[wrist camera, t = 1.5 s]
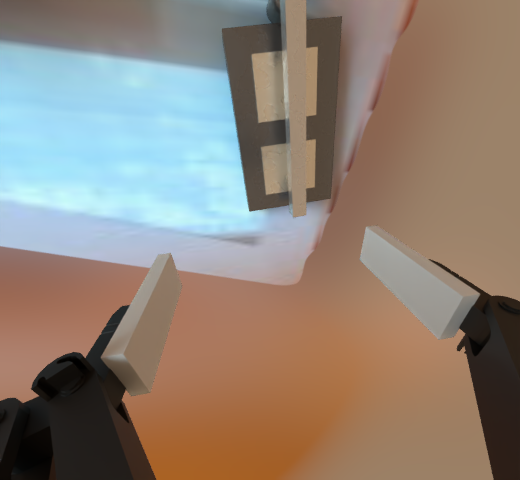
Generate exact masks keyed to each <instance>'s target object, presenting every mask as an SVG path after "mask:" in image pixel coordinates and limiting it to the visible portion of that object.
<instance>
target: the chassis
mask: <svg viewBox="0 0 520 480" xmlns="http://www.w3.org/2000/svg"><path fill="white" fill-rule="evenodd" d="M267 16H268V18H269V20H270V21H271V22H272V24H263V25H253V26H243V27H234V28H224V29H222V39H223V46H224V52H225V59H226V65H227V72H228V78H229V85H230V91H231V98H232V104H233V111H234V117H235V124H236V130H237V137H238V143H239V150H240V157H241V163H242V170H243V176H244V183H245V189H246V196H247V202H248V207H249V211H255V210H262V209H268V208H274V207H280V206H286V205H289V191H288V169H287V147H286V125H285V102H284V80H283V58H282V36H281V14H280V1H279V0H269V1H268V4H267ZM341 23H342V16H340V17H330V18H321V19H311V20H306V202H311V201H317V200H324V199H330V198H331V183H332V167H333V151H334V135H335V119H336V103H337V87H338V71H339V55H340V39H341Z"/></svg>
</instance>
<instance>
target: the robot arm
mask: <svg viewBox="0 0 520 480" xmlns="http://www.w3.org/2000/svg"><path fill="white" fill-rule="evenodd" d="M360 260H361V262H362V263H363V264H365V266H366V267H367V268H369V270H370V271H371V272H372V273H373V274H374V275H375V276H376V277H377V278H378V279H379V280H380V281H382V283H383V284H384V285H385V286H386V287H387V288H388V289H389V290H390V291H391V292H392V293H393V294H394V295H395V296H396V297H397V298H398V299H399V300H400V301H401V302H402V303H403V304H404V305H405V306H406V307H407V308H408V309H409V310H410V311H411V312H412V313H413V314H414V315H415V316H416V317H417V318H418V319H419V320H420V321H421V322H422V323H423V324H424V325H425V326H426V327H427V328H428V329H429V330H430V331H431V332H432V333H433V334H434V335H435V336H436V337H437V338H438V339H439V340H440V339H446V338H451V337H454V336H455V334H456V333H457V331H458V329H459V328H460V329H461V330H462V331H463V332H464V333H466V334H465V336H464V337H463V339H462V340H461V342H460V343H459V345H458V346H457V351H460V350H461V349H462V347H464V346H465V350H466V351H465V352H464V353H466V354H467V359H468V364H469V368H470V373H471V377H472V382H473V387H474V391H475V396H476V400H477V405H478V410H479V414H480V419H481V423H482V427H483V433H484V437H485V442H486V446H487V450H488V455H489V460H490V465H491V469H492V474H493V478H494V480H520V302H519V301H517V300H515V299H512V298H508V297H504V296H491V295H489V294H487V293H486V292H484V291H483V290H481V289H480V288H478V287H477V286H475V285H473V284H472V283H470V282H469V281H467V280H466V279H464V278H462V277H459V275H458V274H456V273H455V272H453V271H451V270H450V269H448V268H447V267H445V266H443V265H442V264H440V263H438V262H435V261H433V260H430V259H427V258H425V257H424V256H422V255H421V254H419V253H418V252H416V251H415V250H413V249H412V248H410V247H409V246H407V245H406V244H404V243H402V242H401V241H400V240H398V239H397V238H395V237H393V236H392V235H391V234H389V233H387V232H386V231H384V230H383V229H382V228H380V227H378V226H377V225H376V226H369V227H366V231H365V236H364V241H363V246H362V251H361V256H360ZM181 289H182V283H181V281H180V278H179V275H178V272H177V269H176V266H175V264H174V261H173V258H172V255H171V253H167V254H160V255H158V256H157V258H156V260H155V262H154V263H153V265H152V267H151V269H150V271H149V272H148V274H147V276H146V278H145V280H144V281H143V283H142V285H141V287H140V288H139V290H138V292H137V294H136V296H135V298H134V299H133V301H132V303H131V304H130V305H127V306H122V307H120V308H119V310H117V311H116V312H115V313H114V314H113V315H112V317H111V318H110V320H109V321H108V323H107V325H106V327H105V328H104V329H103V331H102V334H101V335H100V336H99V338H98V339H97V340H96V342H95V344H94V346H93V347H92V348H91V350H90V352H89V353H88V355H87V356H86V358H84V357H83V355H82V354H81V353H77V352H73V353H69V354H65V355H63V356H61V357H59V358H57V359H56V360H54V361H53V362H52V363H50V364H49V365H47V366H46V367H45V368H44V369H43V370H42V371H41V372H40V373H39V374H38V376H37V377H36V379H35V380H34V382H33V384H32V388H31V389H32V390H33V391H34V392H35V393H36V394H38V395H39V397H36V398H34V399H32V400H29V401H27V402H25V403H22V402H21V401H19V400H18V399H16V398H7V399H5V400H2V401H0V480H156V478H155V475H154V473H153V471H152V469H151V466H150V463H149V461H148V459H147V456H146V454H145V452H144V449H143V447H142V445H141V442H140V440H139V437H138V435H137V433H136V430H135V428H134V426H133V423H132V421H131V418H130V416H129V414H128V411H127V409H126V407H125V404H124V403H123V401H122V397H123V395H124V393H125V390H127V391H128V393H129V394H130V395H131V396H136V395H141V394H147V393H150V392H151V389H152V385H153V382H154V379H155V375H156V372H157V368H158V365H159V362H160V358H161V355H162V352H163V349H164V345H165V342H166V339H167V335H168V332H169V329H170V325H171V322H172V318H173V315H174V311H175V309H176V305H177V302H178V298H179V295H180V292H181Z"/></svg>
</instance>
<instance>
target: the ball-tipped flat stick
mask: <svg viewBox="0 0 520 480" xmlns="http://www.w3.org/2000/svg"><path fill="white" fill-rule="evenodd" d="M279 1H280V14H281V36H282V58H283V80H284V102H285V125H286V147H287V169H288V191H289V212H290V214H291V215H292V217H298V216H304V215H306V0H279Z"/></svg>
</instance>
